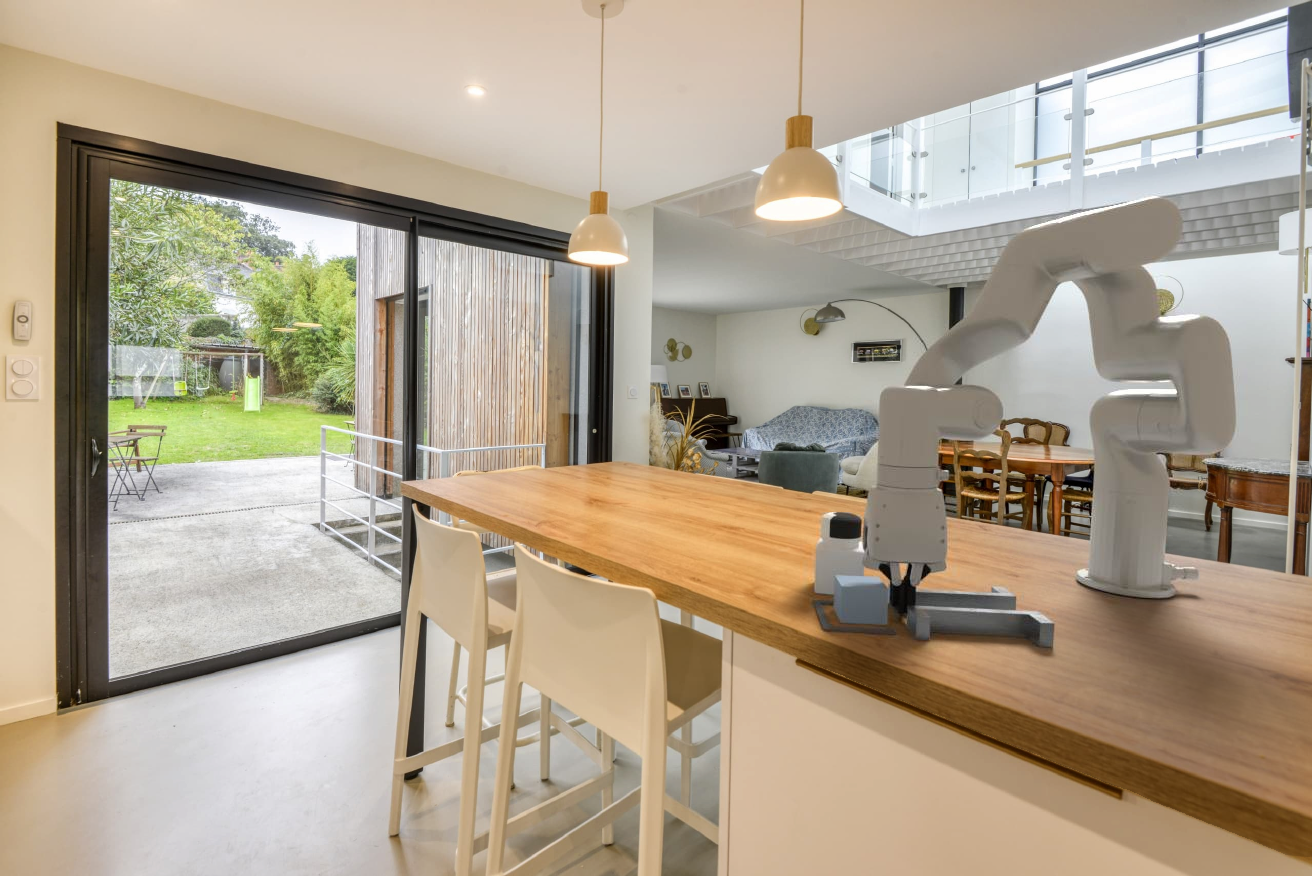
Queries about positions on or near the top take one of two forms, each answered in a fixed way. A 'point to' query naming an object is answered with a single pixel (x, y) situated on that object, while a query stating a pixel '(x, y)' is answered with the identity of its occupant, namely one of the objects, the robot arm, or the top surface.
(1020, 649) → the top surface
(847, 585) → the block
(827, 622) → the bay
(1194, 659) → the top surface
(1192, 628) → the top surface
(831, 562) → the medicine bottle
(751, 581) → the top surface
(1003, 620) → the grey stepped fixture
